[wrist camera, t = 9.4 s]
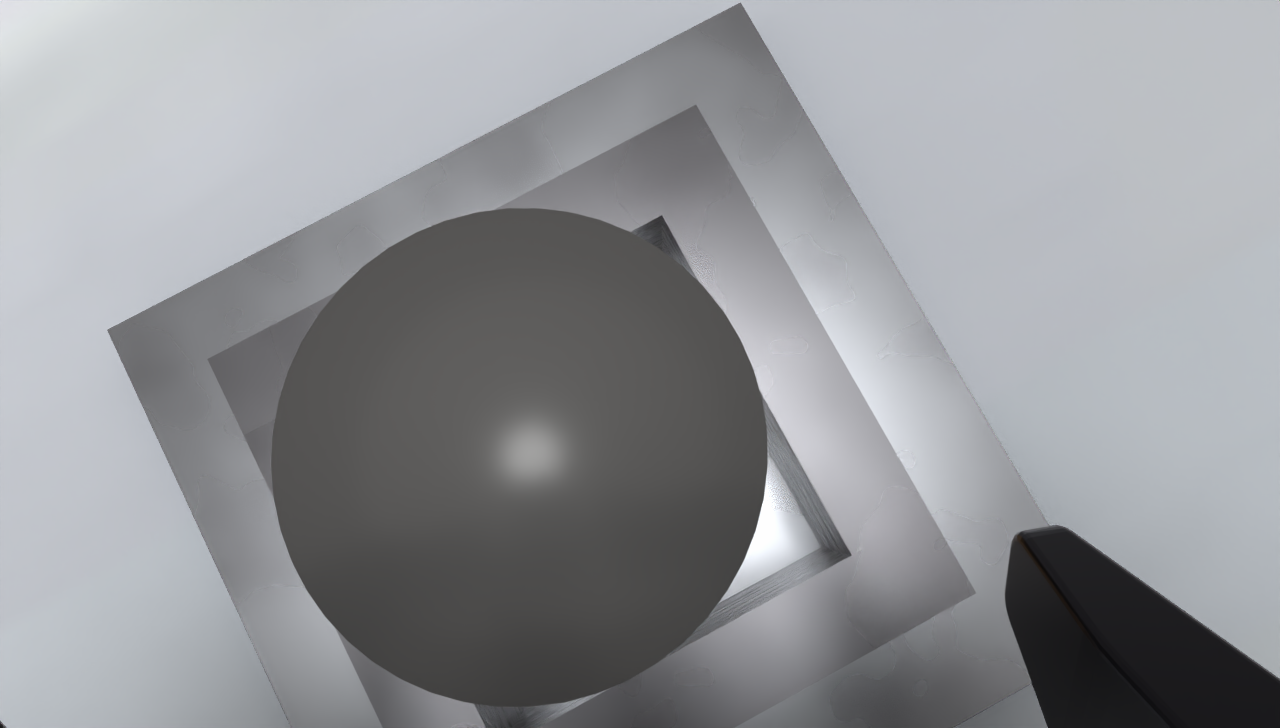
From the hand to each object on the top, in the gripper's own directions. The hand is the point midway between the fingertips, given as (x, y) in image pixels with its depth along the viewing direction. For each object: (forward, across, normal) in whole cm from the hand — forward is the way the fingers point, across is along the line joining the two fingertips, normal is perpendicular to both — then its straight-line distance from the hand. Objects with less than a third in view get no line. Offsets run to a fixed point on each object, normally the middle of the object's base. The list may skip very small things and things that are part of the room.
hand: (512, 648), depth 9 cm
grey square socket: (+9, 0, +6) cm, 11 cm away
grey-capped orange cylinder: (+8, 0, +6) cm, 10 cm away
